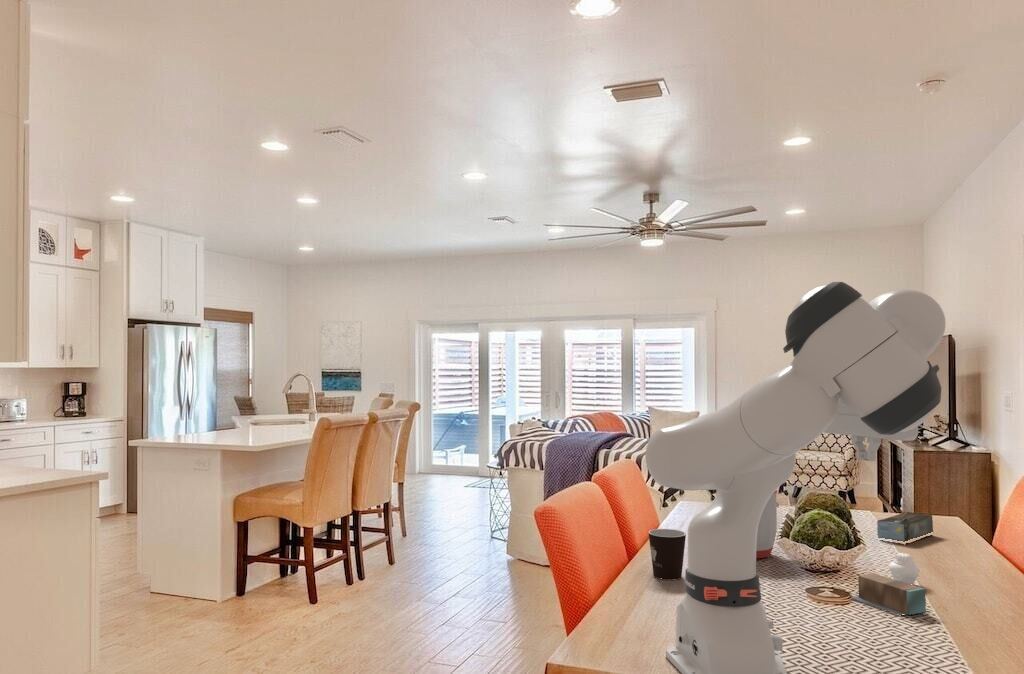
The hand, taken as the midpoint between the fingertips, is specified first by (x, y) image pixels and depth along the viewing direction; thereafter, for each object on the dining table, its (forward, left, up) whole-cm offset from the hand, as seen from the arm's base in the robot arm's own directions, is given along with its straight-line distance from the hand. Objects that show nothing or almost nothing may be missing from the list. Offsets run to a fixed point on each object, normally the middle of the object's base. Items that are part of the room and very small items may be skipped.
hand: (866, 460), depth 140 cm
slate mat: (+11, -9, -31) cm, 34 cm away
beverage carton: (+72, -43, -31) cm, 89 cm away
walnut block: (+5, -12, -28) cm, 31 cm away
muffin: (+26, -20, -31) cm, 45 cm away
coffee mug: (+32, +32, -31) cm, 55 cm away
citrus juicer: (+52, +7, -31) cm, 61 cm away
